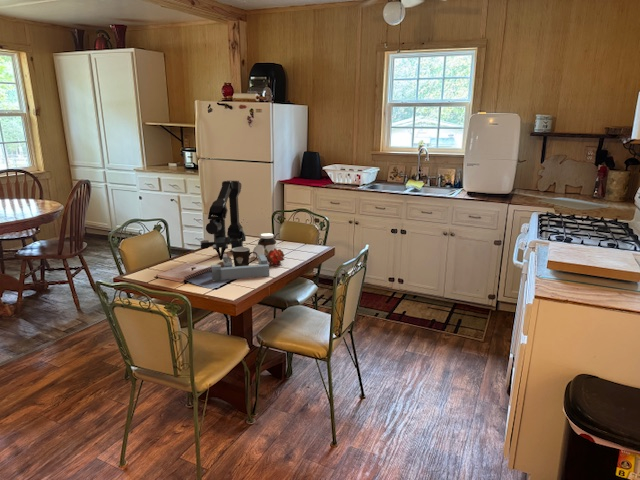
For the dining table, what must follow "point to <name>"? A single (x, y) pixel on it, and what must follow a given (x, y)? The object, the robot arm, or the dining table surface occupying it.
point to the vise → (241, 270)
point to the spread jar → (265, 245)
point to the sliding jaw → (227, 261)
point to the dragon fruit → (275, 256)
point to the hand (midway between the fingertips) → (221, 260)
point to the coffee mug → (242, 256)
